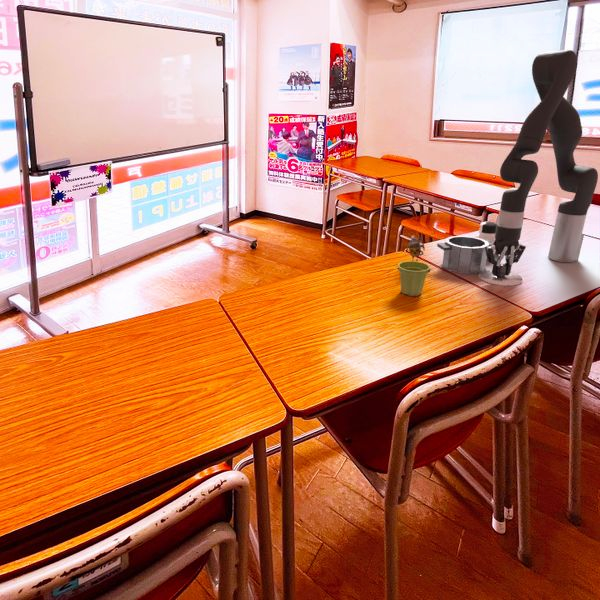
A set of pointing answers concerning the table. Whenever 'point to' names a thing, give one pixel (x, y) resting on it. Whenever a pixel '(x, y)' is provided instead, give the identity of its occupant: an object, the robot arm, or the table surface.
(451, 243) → the pot
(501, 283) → the lid
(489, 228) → the medicine bottle
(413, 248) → the robot figurine
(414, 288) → the plant pot
